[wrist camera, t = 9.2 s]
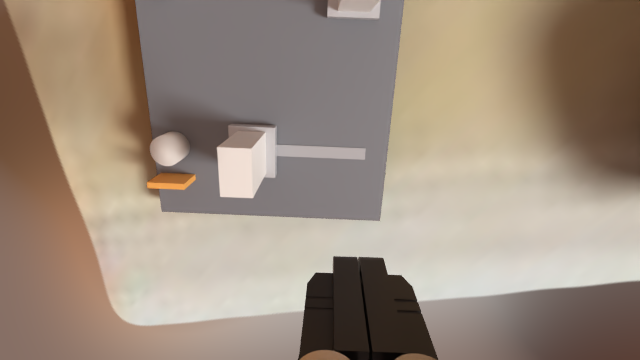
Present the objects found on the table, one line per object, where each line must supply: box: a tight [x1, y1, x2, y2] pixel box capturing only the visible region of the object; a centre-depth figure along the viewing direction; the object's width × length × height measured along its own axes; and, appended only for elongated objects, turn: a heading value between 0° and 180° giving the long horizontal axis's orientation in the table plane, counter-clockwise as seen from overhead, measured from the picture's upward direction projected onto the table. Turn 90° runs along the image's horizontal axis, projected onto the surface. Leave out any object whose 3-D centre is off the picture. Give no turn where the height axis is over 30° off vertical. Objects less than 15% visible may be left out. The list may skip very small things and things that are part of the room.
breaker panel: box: [135, 0, 404, 221], centre depth 21 cm, size 16×20×4 cm
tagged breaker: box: [217, 124, 277, 198], centre depth 20 cm, size 3×3×5 cm
